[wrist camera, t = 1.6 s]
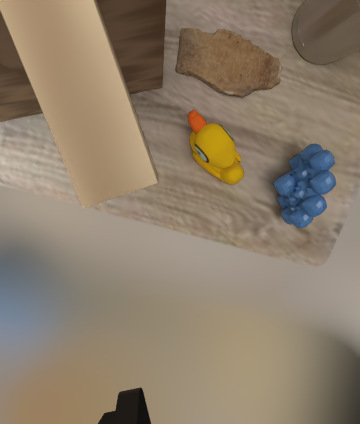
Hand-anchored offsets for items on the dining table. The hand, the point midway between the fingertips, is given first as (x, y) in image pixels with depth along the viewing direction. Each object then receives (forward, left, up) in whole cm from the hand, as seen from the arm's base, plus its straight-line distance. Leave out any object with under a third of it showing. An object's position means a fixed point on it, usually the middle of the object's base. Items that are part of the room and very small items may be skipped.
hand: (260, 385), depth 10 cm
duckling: (-6, -6, -38) cm, 39 cm away
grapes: (-16, +1, -38) cm, 41 cm away
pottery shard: (-11, -17, -38) cm, 44 cm away
